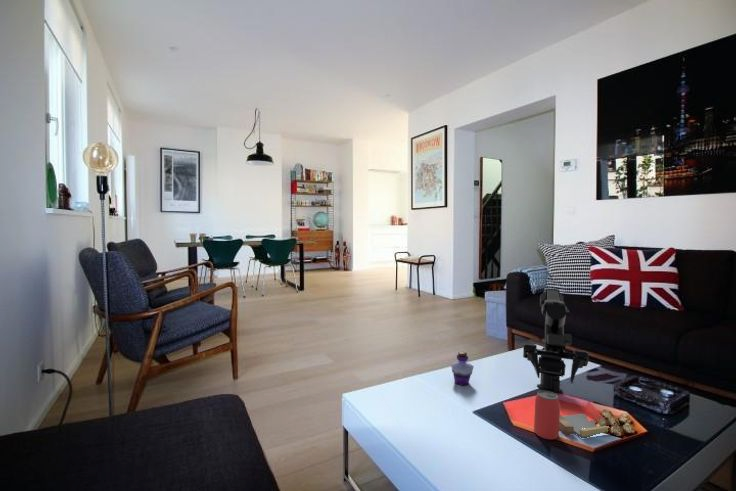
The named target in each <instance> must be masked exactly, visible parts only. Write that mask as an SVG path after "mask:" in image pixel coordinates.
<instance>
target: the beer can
mask: <svg viewBox="0 0 736 491" xmlns="http://www.w3.org/2000/svg"><path fill="white" fill-rule="evenodd" d="M559 399H560V398H559V396H558V395H557V393H556V392H554V393H553V392H550V391H544V390H538V391H537V394H536V395H535V399H534V415H533V416H534V420H533V421H534V423H533V431H534V433H535V434H536V435H537V436H538V437H540V438H542V439H545V440H556V439H558V437H559V436H560V434H559V433H560V430H559V417H560V415H561V413H560V412H561V403H560V400H559Z"/></svg>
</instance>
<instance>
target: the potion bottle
mask: <svg viewBox="0 0 736 491" xmlns="http://www.w3.org/2000/svg"><path fill="white" fill-rule="evenodd" d="M456 360H458V361H454V362H452V363H451V364H450V367H451V373H452V375H453V380H454V384H456V385H457V386H462V387H464V386H468V385H469V384H470V380H471V377H472V375H473V370H474V365H473V364H471V363H470V362H467V361H468V360H469V356H468V352H465V351H458V352H457V355H456Z"/></svg>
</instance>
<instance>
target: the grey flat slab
mask: <svg viewBox="0 0 736 491" xmlns="http://www.w3.org/2000/svg"><path fill="white" fill-rule="evenodd" d="M584 415H586V414H584V413H578V414H576V413H575V414H570V415H568V414H567V415H561V416H562V417H563V418H564V419H566V420H567V421H568V422H569V423H570V424H571V425H572V426H574V433H575V434H574V435H576V434H577V435H578V436H580V437H581V438H587V437H590V436H593V435H596V434H600V433H603V432H605V431H606V430H607V429H608V428H610V427H609V426H606V425H603V426H599V427H595V423H596V422H597V421H596V420H595V421H592V420H594V419H593V418H591V419H592V420H591V421H588V419H587V417H589V416H588V415H587V417H586V416H584ZM586 419H587V420H586ZM582 428H583V429H582ZM584 428H585V429H584ZM577 435H576V436H577ZM578 436H577V437H578ZM580 437H579V438H580ZM581 438H580V439H581ZM587 439H588V438H587Z"/></svg>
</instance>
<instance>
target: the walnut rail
mask: <svg viewBox="0 0 736 491" xmlns="http://www.w3.org/2000/svg"><path fill="white" fill-rule="evenodd" d="M562 416H563V415H561V414H560V417H559V429H560V430H561V431H562V432H563V433H562V432H561V431H560V430H559V431H560V432H561V433H562V434H563V435H565V436H571V435H570V434H574V426H572V425H571V424H570V423H569V422H568V421H567V420H566V419H564V418H563V417H562ZM574 435H575V434H574Z"/></svg>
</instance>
